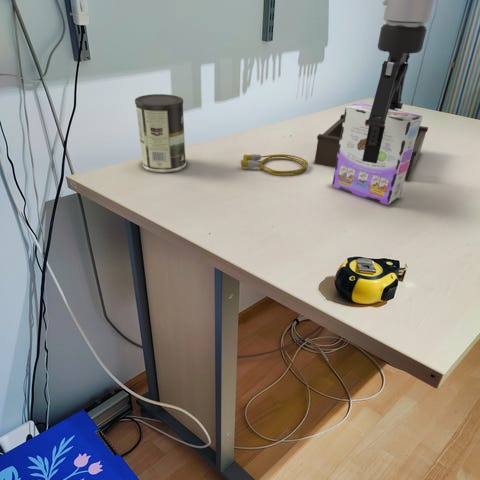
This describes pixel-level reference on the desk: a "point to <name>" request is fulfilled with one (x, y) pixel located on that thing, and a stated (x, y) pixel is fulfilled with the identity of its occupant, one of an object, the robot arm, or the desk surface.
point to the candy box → (389, 160)
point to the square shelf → (331, 139)
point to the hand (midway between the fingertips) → (376, 151)
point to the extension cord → (251, 160)
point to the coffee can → (161, 132)
